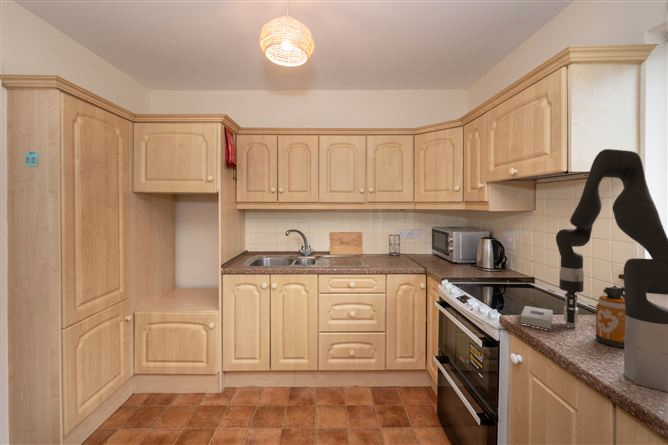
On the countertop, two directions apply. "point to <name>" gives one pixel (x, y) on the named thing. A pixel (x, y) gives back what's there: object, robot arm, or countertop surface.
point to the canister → (611, 317)
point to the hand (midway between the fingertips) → (570, 320)
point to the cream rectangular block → (574, 316)
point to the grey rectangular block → (537, 317)
